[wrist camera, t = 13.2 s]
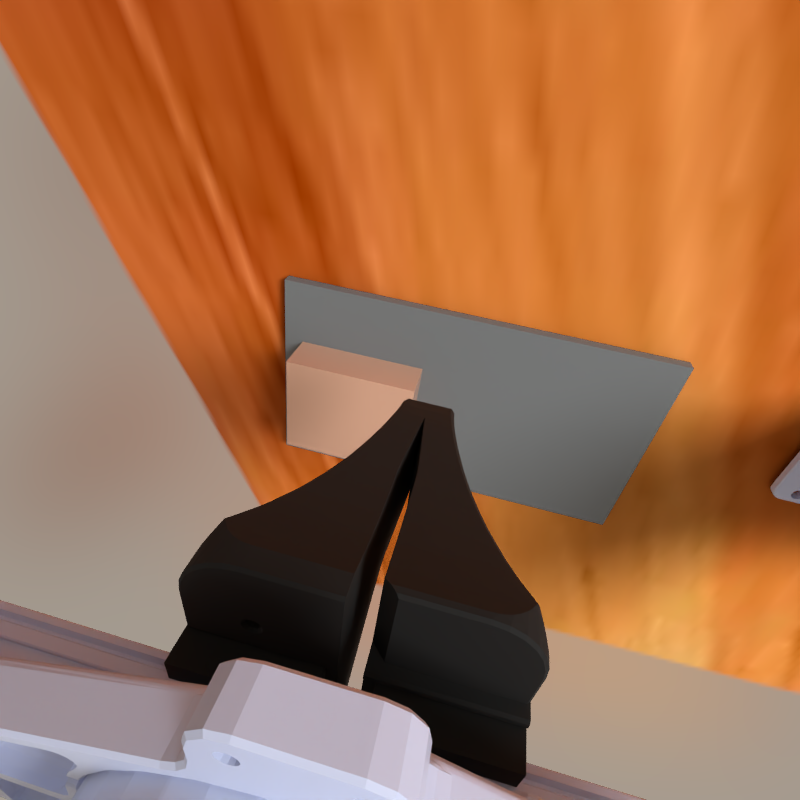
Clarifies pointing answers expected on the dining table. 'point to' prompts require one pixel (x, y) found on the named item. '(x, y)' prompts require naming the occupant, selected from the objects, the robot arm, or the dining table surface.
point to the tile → (342, 397)
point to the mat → (508, 393)
